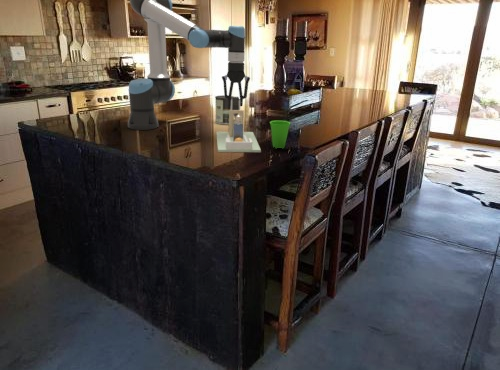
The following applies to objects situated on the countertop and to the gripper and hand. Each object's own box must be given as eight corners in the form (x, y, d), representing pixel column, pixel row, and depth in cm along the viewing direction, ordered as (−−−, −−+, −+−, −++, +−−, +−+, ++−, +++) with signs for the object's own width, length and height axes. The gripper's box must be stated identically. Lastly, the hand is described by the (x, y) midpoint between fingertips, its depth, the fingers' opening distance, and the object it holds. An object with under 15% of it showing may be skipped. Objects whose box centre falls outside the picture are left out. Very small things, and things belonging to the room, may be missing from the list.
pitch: (217, 152, 164) (218, 120, 159) (216, 133, 193) (216, 106, 189) (260, 152, 166) (262, 121, 161) (252, 133, 195) (253, 107, 191)
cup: (267, 144, 178) (268, 120, 174) (287, 144, 179) (288, 120, 175) (269, 149, 169) (271, 124, 165) (290, 150, 170) (292, 125, 166)
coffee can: (235, 121, 222) (236, 96, 217) (231, 125, 212) (231, 98, 207) (218, 119, 224) (218, 94, 219) (212, 123, 214) (212, 97, 209)
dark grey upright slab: (233, 142, 171) (234, 105, 165) (230, 129, 194) (231, 96, 188) (242, 142, 171) (243, 105, 165) (238, 129, 194) (239, 96, 189)
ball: (234, 135, 168) (233, 143, 170) (234, 140, 165) (234, 148, 167) (243, 135, 168) (242, 143, 171) (244, 140, 165) (243, 148, 168)
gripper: (218, 62, 177) (218, 114, 185) (254, 63, 179) (252, 114, 187) (218, 61, 184) (218, 111, 192) (252, 61, 186) (251, 111, 194)
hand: (235, 112), depth 190 cm, fingers closed on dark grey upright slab, 3 cm apart
